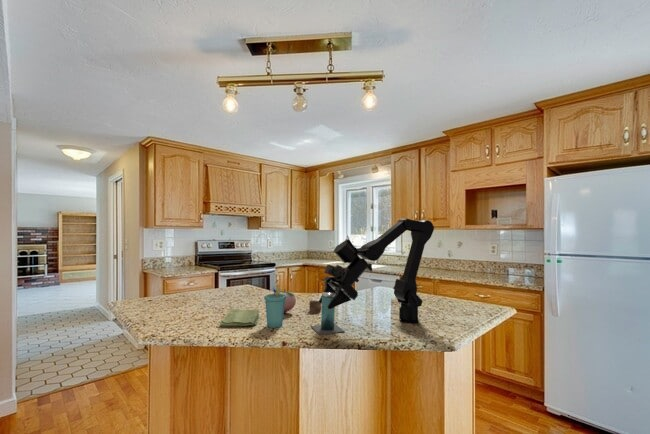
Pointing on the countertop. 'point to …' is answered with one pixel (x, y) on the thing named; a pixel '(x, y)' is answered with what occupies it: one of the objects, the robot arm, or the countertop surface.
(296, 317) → the countertop surface
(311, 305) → the letter block
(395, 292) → the robot arm
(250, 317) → the washcloth
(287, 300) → the decorative fruit
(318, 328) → the mat
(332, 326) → the tin
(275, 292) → the cup
